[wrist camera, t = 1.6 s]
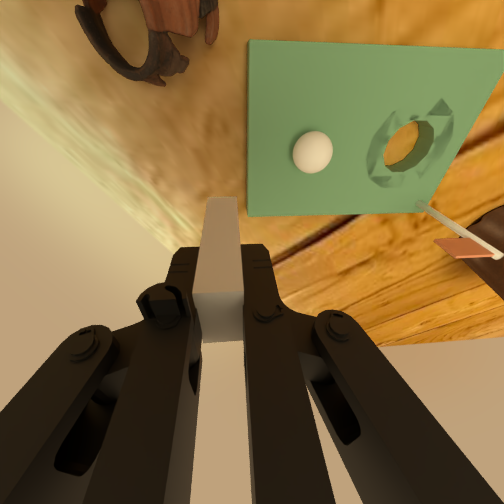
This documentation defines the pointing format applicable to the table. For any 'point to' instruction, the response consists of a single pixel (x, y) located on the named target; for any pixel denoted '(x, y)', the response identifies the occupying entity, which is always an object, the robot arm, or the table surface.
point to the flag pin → (460, 239)
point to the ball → (312, 152)
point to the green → (358, 121)
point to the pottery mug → (152, 35)
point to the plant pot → (498, 236)
